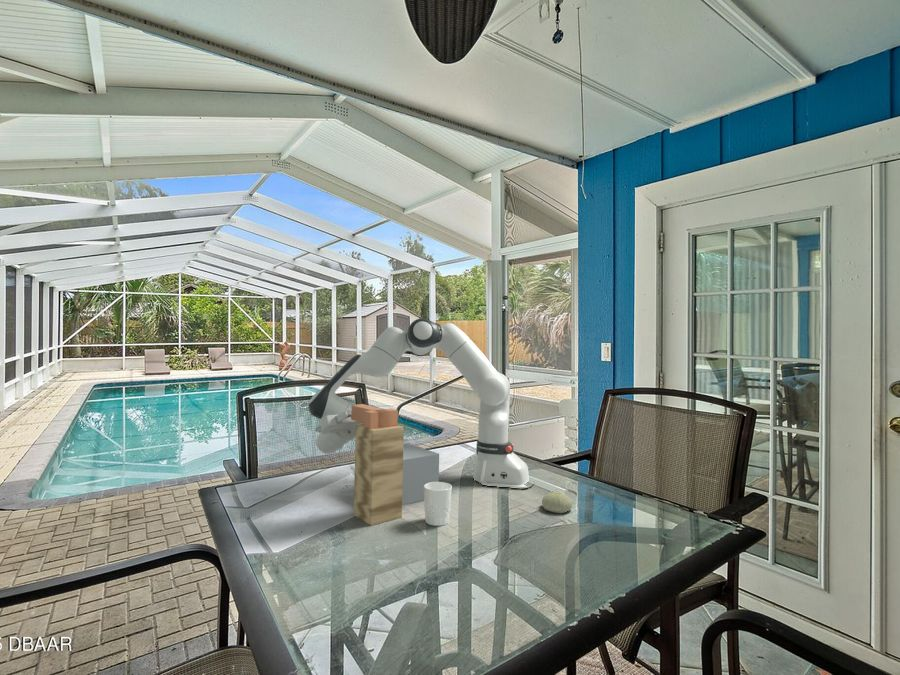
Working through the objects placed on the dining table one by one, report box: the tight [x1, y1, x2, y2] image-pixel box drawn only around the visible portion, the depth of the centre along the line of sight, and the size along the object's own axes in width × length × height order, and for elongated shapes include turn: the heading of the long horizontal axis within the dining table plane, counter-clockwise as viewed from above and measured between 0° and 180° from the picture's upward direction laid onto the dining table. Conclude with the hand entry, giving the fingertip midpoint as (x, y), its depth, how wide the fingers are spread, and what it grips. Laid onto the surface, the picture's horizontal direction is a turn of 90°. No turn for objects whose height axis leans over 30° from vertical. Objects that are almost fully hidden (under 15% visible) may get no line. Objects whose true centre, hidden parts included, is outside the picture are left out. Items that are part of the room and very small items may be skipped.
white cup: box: [423, 481, 453, 527], centre depth 134 cm, size 8×8×10 cm
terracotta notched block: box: [351, 403, 399, 429], centre depth 141 cm, size 16×9×4 cm, turn 39°
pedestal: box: [353, 424, 405, 527], centre depth 137 cm, size 10×10×26 cm
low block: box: [402, 443, 440, 507], centre depth 157 cm, size 18×15×14 cm
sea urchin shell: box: [541, 491, 573, 514], centre depth 146 cm, size 9×8×8 cm
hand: (362, 411), depth 144 cm, fingers open, 8 cm apart
